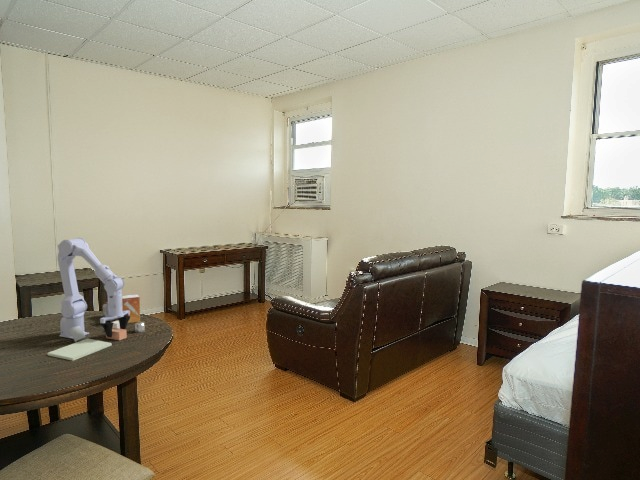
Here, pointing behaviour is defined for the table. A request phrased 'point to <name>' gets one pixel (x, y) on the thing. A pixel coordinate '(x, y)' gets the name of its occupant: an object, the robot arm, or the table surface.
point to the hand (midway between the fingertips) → (116, 334)
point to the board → (79, 349)
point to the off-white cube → (116, 324)
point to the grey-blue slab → (77, 333)
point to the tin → (106, 309)
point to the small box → (132, 307)
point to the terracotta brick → (118, 334)
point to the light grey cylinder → (140, 327)
